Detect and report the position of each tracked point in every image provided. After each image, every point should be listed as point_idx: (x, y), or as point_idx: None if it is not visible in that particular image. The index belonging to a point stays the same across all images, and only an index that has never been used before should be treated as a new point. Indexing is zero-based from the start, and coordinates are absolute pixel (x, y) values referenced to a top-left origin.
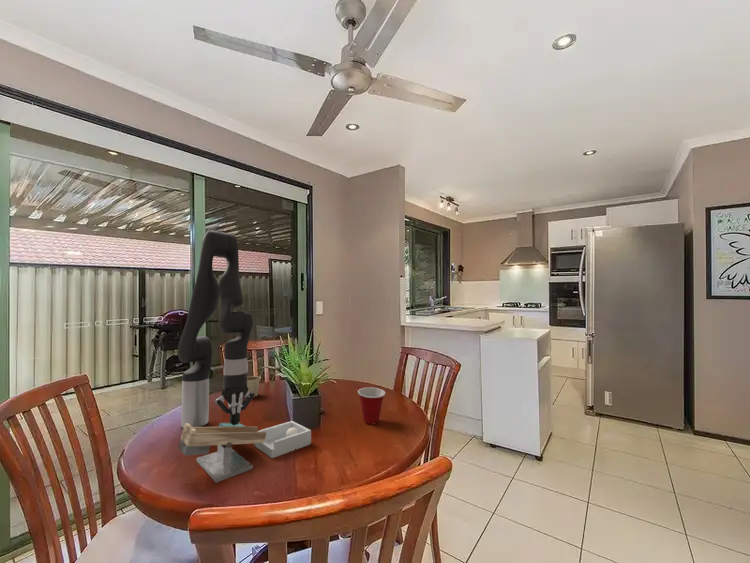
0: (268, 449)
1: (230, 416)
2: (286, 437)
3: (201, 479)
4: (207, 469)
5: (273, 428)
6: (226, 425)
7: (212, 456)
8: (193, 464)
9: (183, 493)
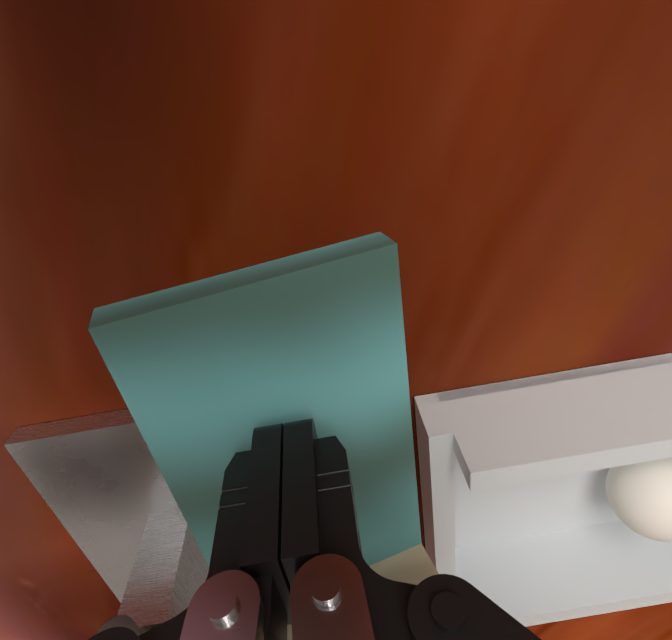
0: (433, 562)
1: (223, 551)
2: (554, 615)
3: (83, 583)
4: (99, 573)
5: (604, 460)
6: (193, 428)
7: (116, 468)
8: (5, 451)
9: (22, 632)
